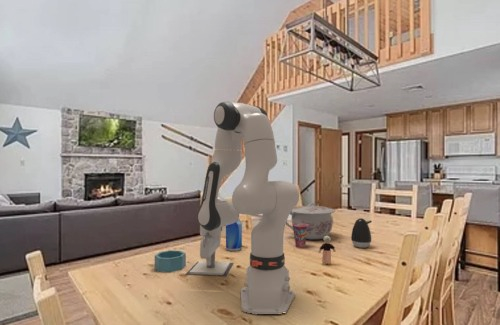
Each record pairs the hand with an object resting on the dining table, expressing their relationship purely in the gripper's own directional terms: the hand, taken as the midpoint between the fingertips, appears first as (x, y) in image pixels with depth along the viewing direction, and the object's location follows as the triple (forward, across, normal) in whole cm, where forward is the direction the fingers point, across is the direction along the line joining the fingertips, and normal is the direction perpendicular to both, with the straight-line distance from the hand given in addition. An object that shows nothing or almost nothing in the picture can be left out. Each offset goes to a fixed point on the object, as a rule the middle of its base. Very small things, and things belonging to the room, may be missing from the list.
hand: (210, 262), depth 135 cm
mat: (+3, 0, 0) cm, 3 cm away
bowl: (+3, 0, +18) cm, 18 cm away
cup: (+3, +41, -39) cm, 57 cm away
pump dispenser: (+3, +44, -71) cm, 84 cm away
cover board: (+2, 0, 0) cm, 2 cm away
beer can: (+3, +32, -4) cm, 32 cm away
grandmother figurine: (+3, +13, -50) cm, 52 cm away
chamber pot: (+3, +63, -46) cm, 78 cm away
